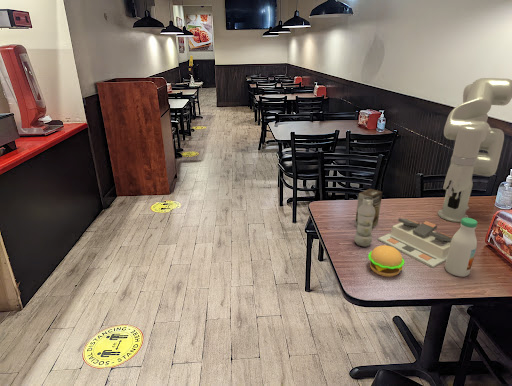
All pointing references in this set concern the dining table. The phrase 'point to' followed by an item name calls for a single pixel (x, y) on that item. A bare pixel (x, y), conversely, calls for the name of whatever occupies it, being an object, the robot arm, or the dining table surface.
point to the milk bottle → (462, 249)
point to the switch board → (414, 253)
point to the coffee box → (376, 204)
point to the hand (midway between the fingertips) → (452, 207)
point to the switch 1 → (409, 222)
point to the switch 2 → (441, 236)
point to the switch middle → (425, 229)
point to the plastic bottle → (365, 222)
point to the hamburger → (386, 260)
